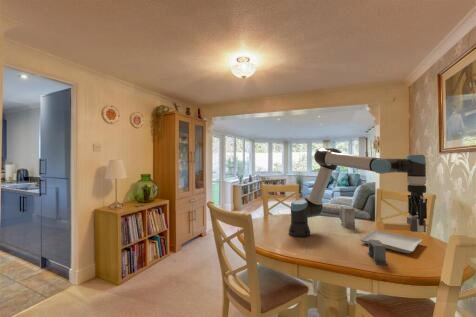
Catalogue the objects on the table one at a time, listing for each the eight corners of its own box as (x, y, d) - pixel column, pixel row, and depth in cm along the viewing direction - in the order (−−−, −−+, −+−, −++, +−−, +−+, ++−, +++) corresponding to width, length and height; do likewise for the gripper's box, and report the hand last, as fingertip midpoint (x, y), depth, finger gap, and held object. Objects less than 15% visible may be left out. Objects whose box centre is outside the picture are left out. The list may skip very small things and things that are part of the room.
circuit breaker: (348, 223, 190) (347, 205, 190) (355, 227, 176) (354, 208, 176) (338, 222, 191) (338, 205, 191) (345, 227, 177) (344, 208, 177)
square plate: (374, 234, 161) (374, 229, 161) (423, 245, 140) (423, 238, 140) (359, 244, 143) (359, 238, 143) (413, 257, 122) (412, 250, 122)
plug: (385, 230, 117) (385, 218, 117) (381, 227, 122) (381, 216, 122) (429, 232, 113) (429, 220, 113) (423, 229, 117) (423, 218, 117)
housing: (376, 264, 114) (376, 247, 114) (367, 253, 127) (367, 238, 127) (387, 265, 113) (387, 247, 113) (377, 254, 126) (377, 238, 126)
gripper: (436, 186, 107) (437, 236, 106) (415, 182, 124) (416, 225, 124) (417, 186, 108) (418, 235, 108) (400, 182, 126) (400, 224, 126)
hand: (417, 229), depth 116 cm, fingers closed on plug, 5 cm apart
